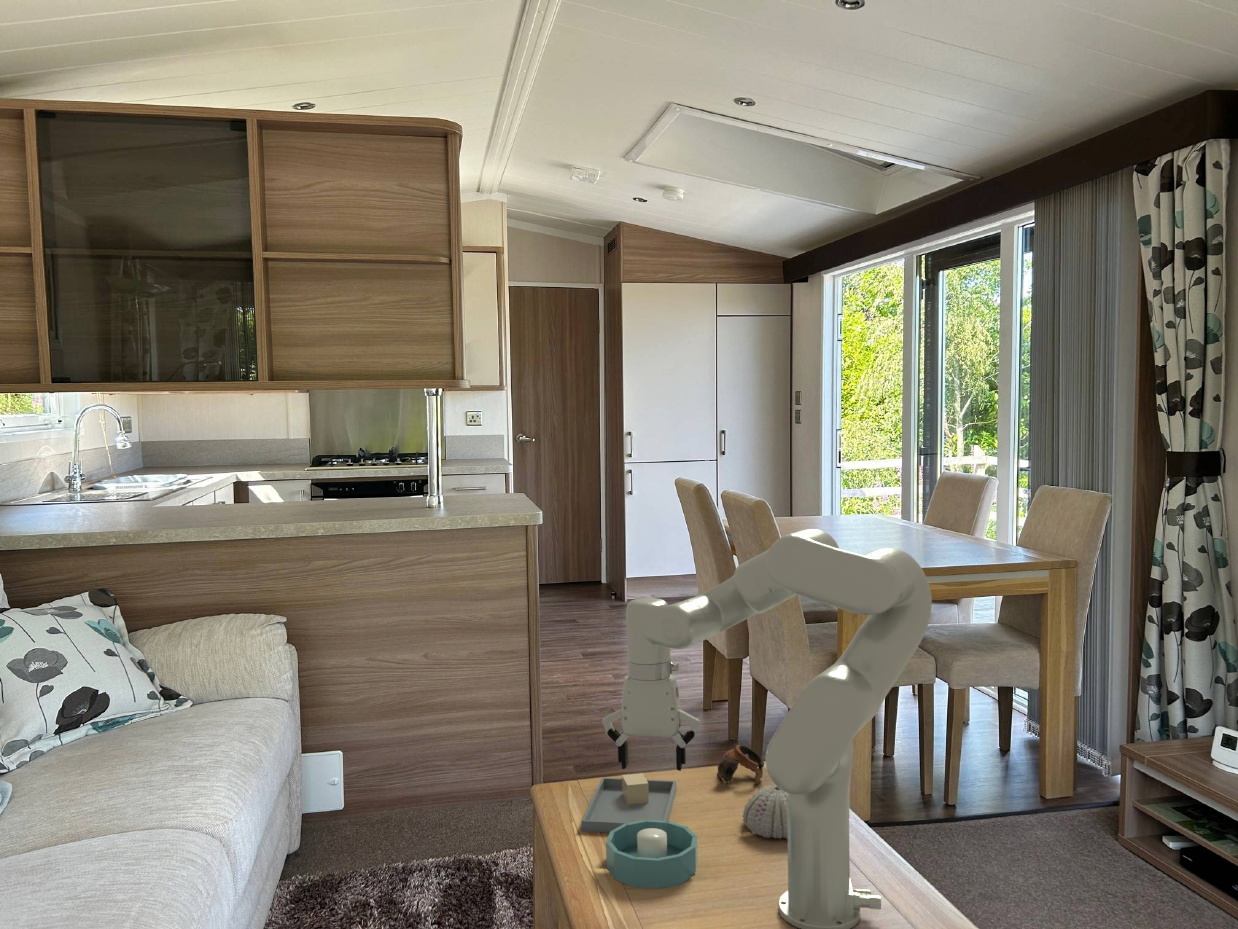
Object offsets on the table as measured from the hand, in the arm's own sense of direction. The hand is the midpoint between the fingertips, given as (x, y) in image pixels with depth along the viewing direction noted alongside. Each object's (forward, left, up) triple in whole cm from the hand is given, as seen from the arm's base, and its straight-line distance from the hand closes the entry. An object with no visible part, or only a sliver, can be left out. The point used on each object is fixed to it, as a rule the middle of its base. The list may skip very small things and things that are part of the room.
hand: (652, 767), depth 158 cm
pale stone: (0, 0, -17) cm, 17 cm away
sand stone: (+7, -28, -17) cm, 33 cm away
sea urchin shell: (-22, -18, -18) cm, 34 cm away
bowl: (0, 0, -18) cm, 18 cm away
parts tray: (+7, -22, -18) cm, 29 cm away
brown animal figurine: (-13, -41, -18) cm, 47 cm away
